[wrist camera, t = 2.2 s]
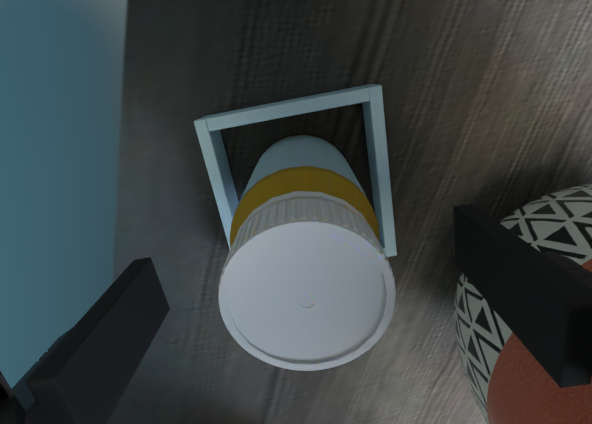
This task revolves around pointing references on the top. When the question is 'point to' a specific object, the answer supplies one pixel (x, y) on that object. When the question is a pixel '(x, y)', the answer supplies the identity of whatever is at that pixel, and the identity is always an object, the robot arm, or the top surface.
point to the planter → (503, 342)
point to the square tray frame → (363, 94)
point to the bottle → (305, 261)
